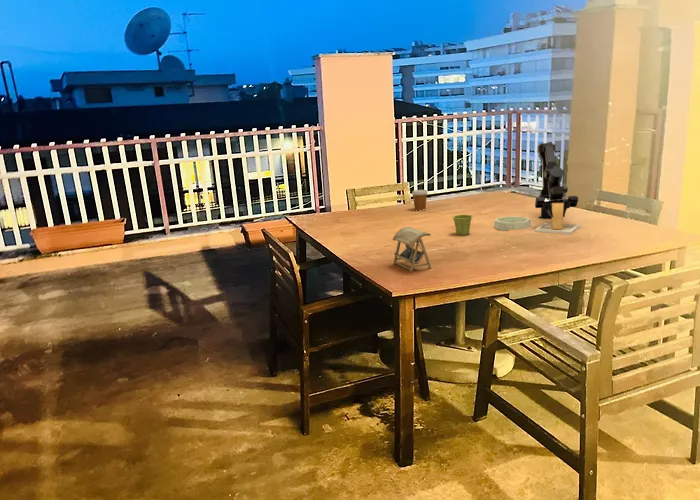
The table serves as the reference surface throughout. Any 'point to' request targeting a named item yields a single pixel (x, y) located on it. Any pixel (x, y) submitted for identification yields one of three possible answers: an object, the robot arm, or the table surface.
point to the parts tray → (548, 229)
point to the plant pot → (462, 224)
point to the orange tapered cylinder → (557, 215)
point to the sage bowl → (511, 223)
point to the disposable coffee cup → (419, 199)
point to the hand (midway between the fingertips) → (557, 216)
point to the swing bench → (411, 247)
